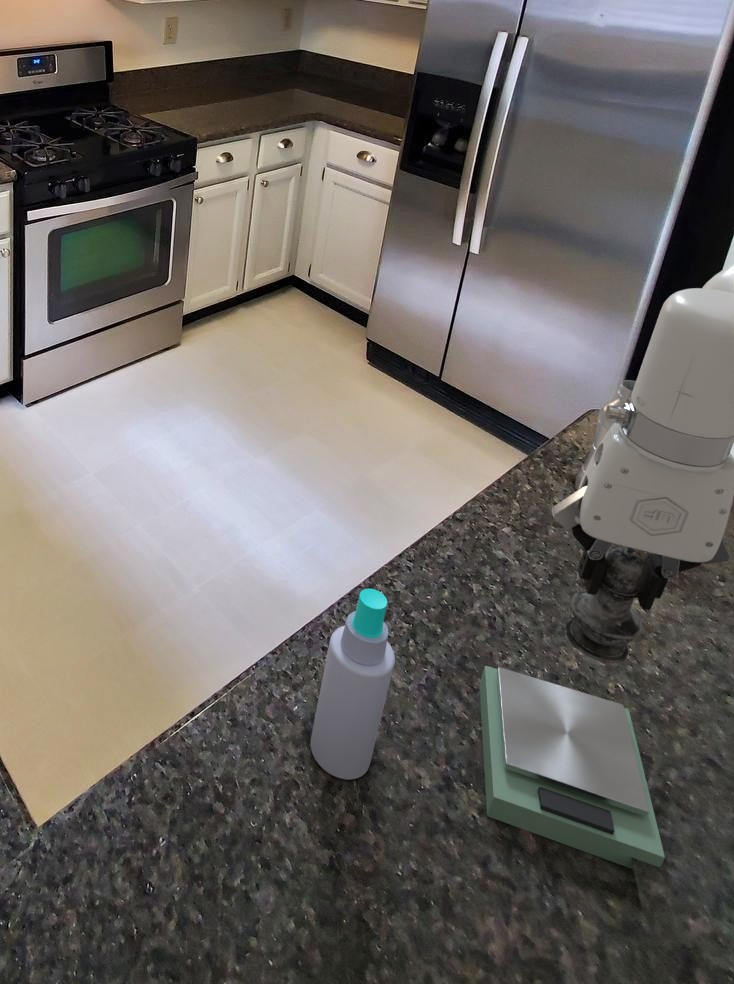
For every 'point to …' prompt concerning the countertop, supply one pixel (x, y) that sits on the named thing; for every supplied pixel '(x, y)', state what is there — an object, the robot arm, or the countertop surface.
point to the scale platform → (569, 740)
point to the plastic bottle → (606, 423)
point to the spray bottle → (353, 690)
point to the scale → (562, 800)
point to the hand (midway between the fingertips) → (615, 589)
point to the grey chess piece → (608, 610)
